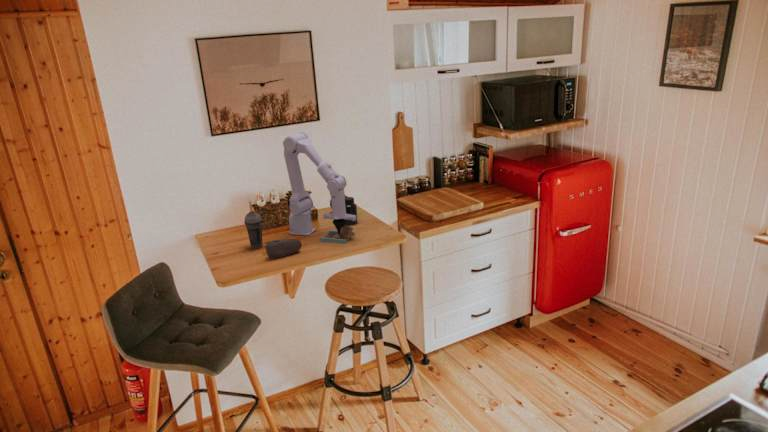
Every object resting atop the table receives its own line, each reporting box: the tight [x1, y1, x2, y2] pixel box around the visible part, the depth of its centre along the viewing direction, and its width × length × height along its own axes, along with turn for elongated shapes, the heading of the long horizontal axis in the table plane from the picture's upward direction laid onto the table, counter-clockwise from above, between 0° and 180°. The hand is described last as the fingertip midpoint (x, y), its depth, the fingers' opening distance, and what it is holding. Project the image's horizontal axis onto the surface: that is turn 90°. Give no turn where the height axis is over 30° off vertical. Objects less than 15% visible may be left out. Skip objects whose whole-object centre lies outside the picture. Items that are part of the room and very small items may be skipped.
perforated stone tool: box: [264, 238, 303, 259], centre depth 211 cm, size 15×5×7 cm, turn 115°
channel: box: [319, 229, 355, 244], centre depth 226 cm, size 12×10×2 cm
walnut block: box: [338, 225, 354, 242], centre depth 224 cm, size 4×4×5 cm
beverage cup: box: [244, 200, 263, 250], centre depth 219 cm, size 7×7×20 cm
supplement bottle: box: [345, 196, 358, 226], centre depth 242 cm, size 7×7×12 cm
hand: (341, 235), depth 225 cm, fingers closed, pressing on walnut block
